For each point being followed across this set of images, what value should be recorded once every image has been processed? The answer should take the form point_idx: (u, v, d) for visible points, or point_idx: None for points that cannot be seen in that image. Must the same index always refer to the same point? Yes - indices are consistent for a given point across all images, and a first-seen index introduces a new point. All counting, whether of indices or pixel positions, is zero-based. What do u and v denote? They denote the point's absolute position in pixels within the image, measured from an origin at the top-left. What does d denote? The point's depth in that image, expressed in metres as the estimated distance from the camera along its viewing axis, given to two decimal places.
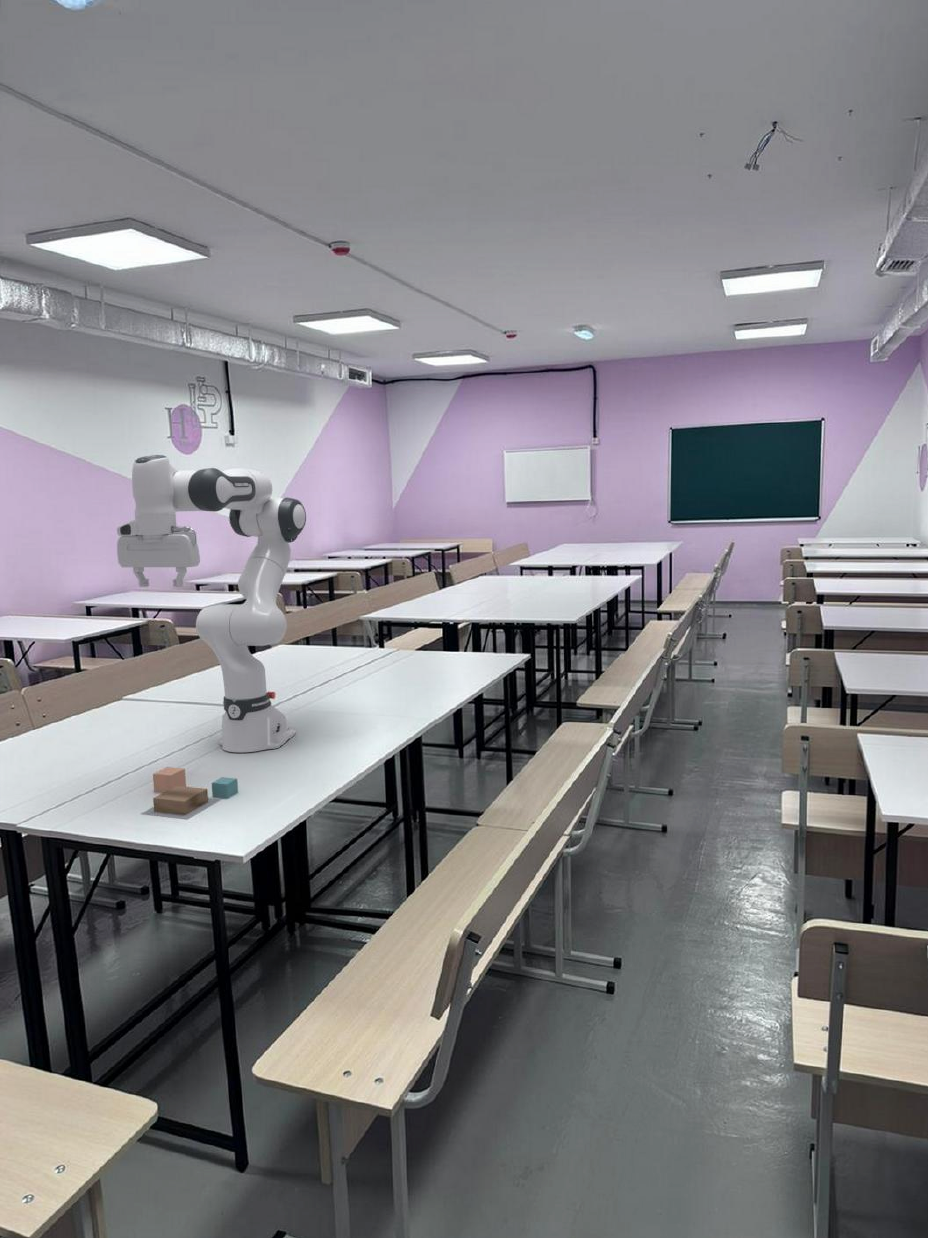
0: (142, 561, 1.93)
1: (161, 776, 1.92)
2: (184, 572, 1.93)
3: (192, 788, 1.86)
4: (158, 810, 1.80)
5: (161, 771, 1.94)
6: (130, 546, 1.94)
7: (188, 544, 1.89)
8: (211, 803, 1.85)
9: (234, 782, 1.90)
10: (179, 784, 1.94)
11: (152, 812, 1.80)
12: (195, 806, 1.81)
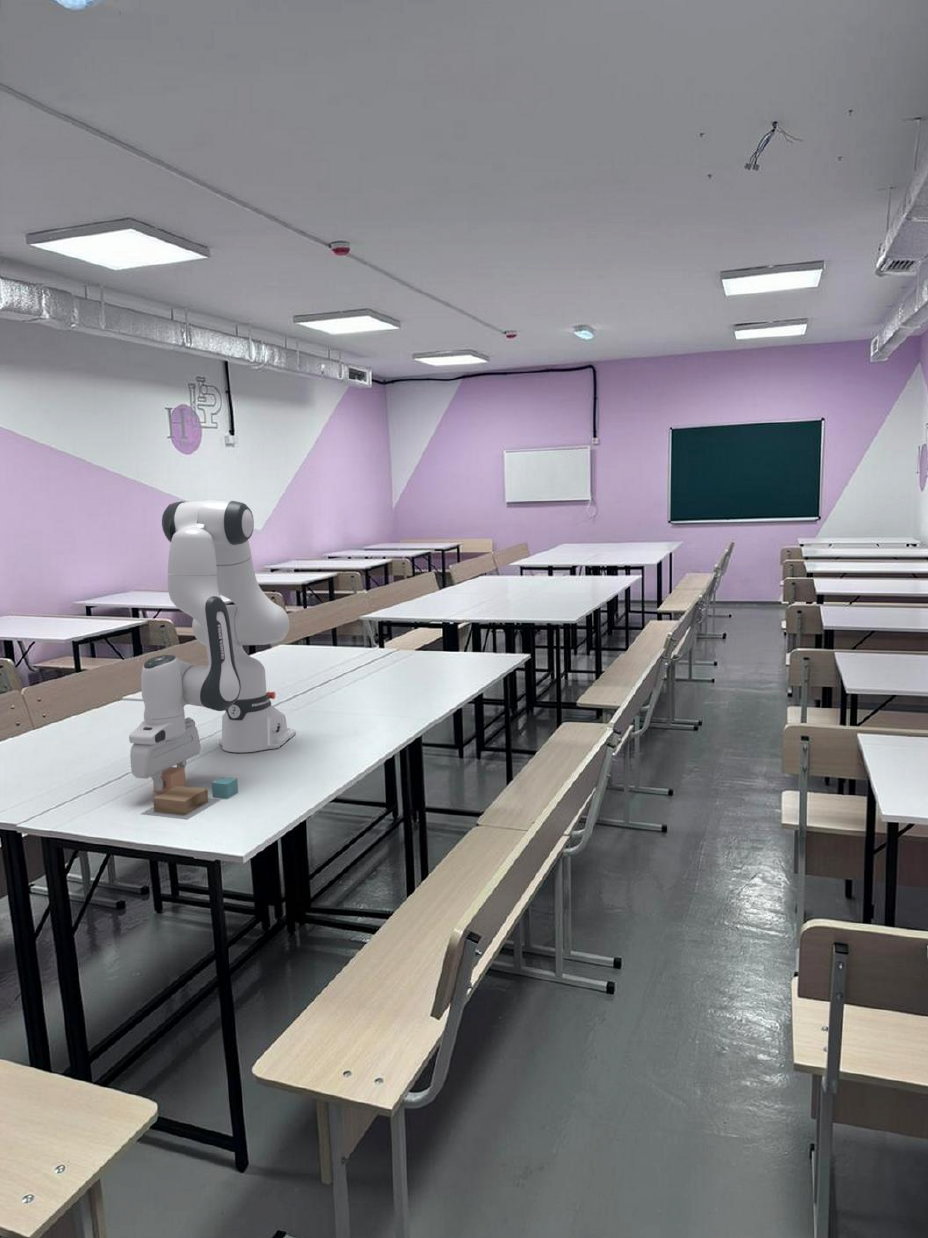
0: (165, 764, 1.90)
1: (161, 776, 1.92)
2: None
3: (192, 788, 1.86)
4: (158, 810, 1.80)
5: None
6: (154, 753, 1.87)
7: (197, 733, 2.02)
8: (211, 803, 1.85)
9: (234, 782, 1.90)
10: (179, 783, 1.94)
11: (152, 812, 1.80)
12: (195, 806, 1.81)
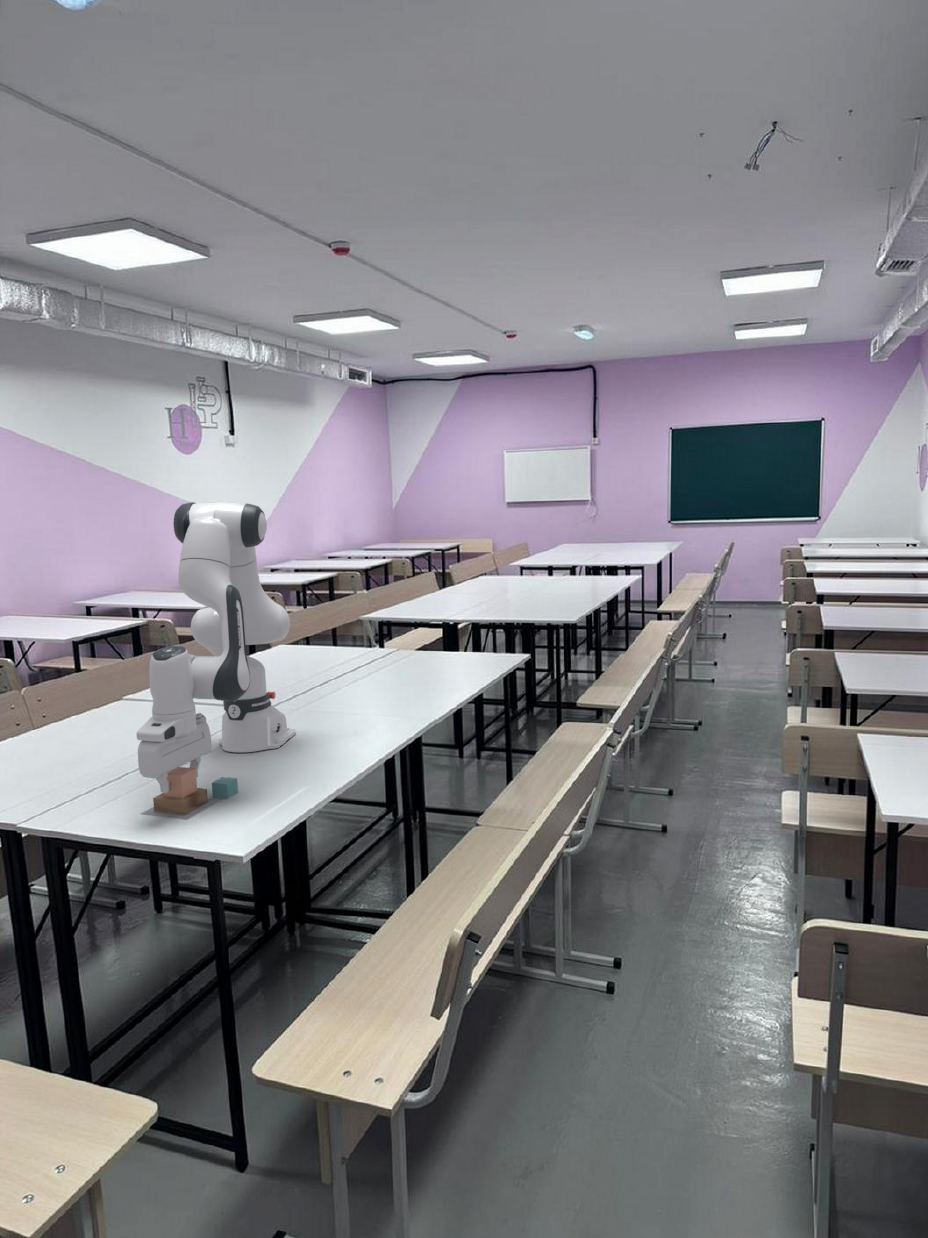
0: (175, 762, 1.78)
1: (170, 777, 1.80)
2: None
3: None
4: (158, 810, 1.80)
5: (170, 771, 1.82)
6: (163, 751, 1.75)
7: None
8: (211, 803, 1.85)
9: (234, 782, 1.90)
10: (190, 784, 1.82)
11: (152, 812, 1.80)
12: (195, 806, 1.81)
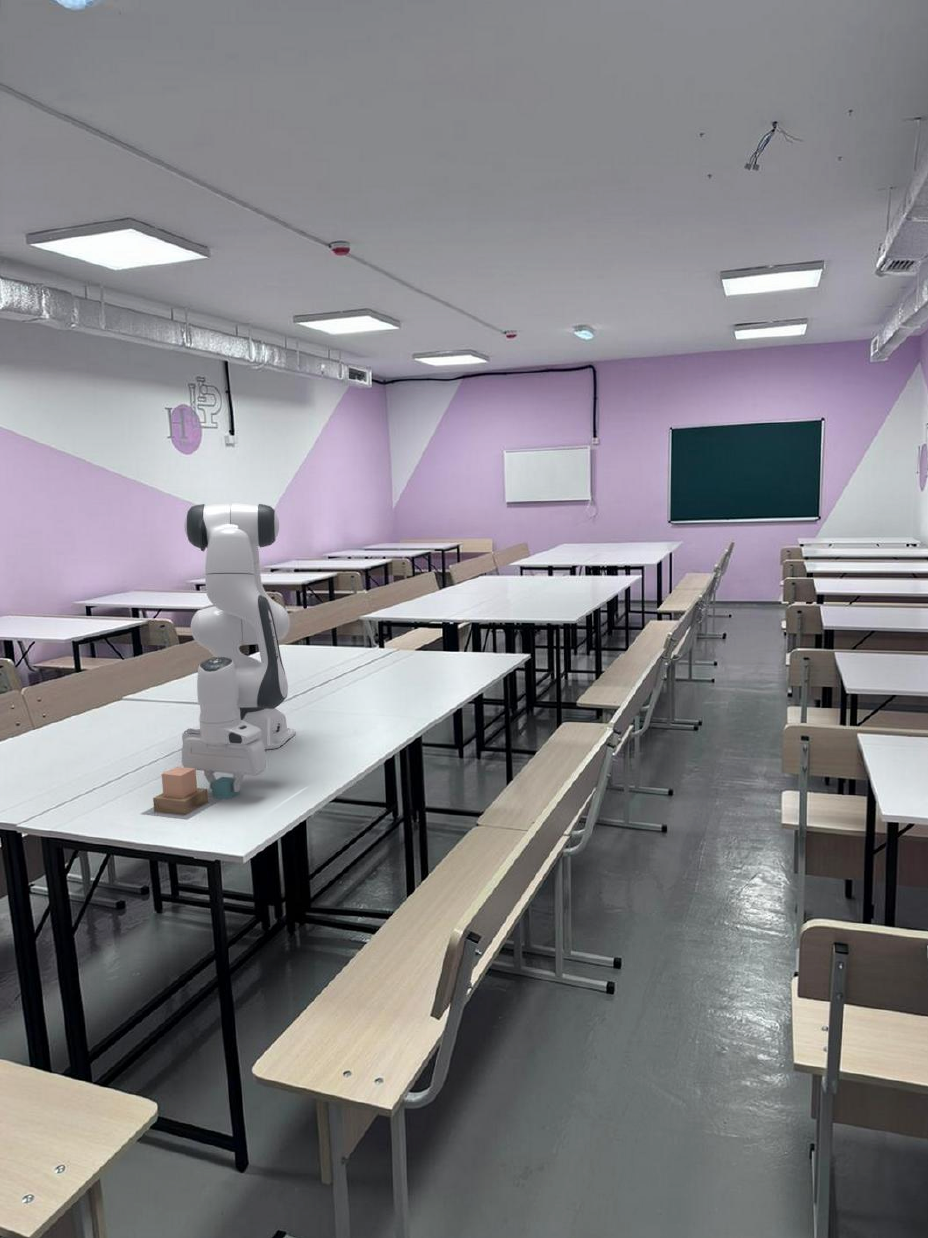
0: None
1: (170, 777, 1.80)
2: None
3: None
4: (158, 810, 1.80)
5: (170, 771, 1.82)
6: None
7: None
8: (211, 803, 1.85)
9: None
10: (190, 784, 1.82)
11: (152, 812, 1.80)
12: (195, 806, 1.81)
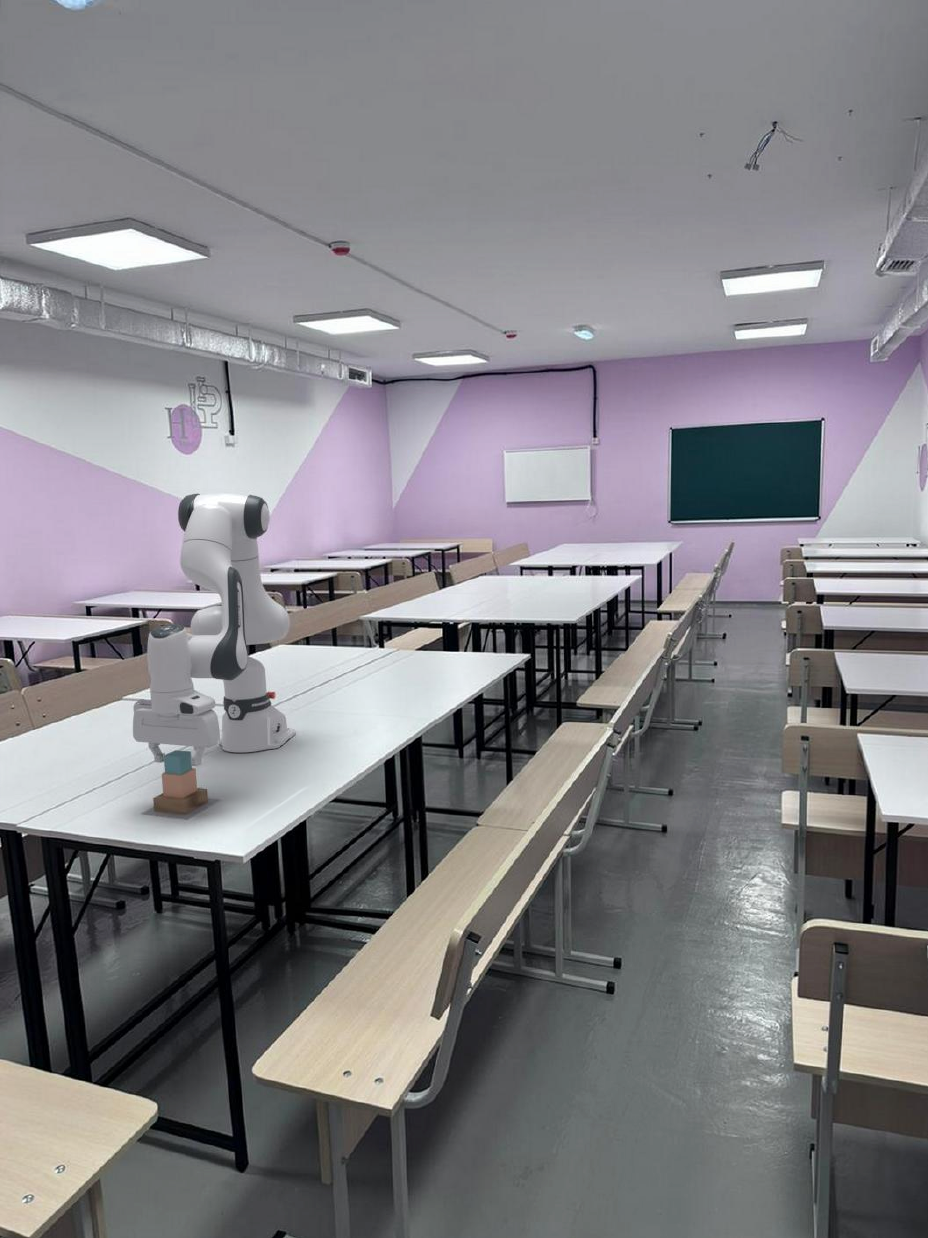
0: None
1: (170, 777, 1.80)
2: None
3: None
4: (158, 810, 1.80)
5: None
6: None
7: None
8: (211, 803, 1.85)
9: (187, 755, 1.82)
10: (190, 784, 1.82)
11: (152, 812, 1.80)
12: (195, 806, 1.81)
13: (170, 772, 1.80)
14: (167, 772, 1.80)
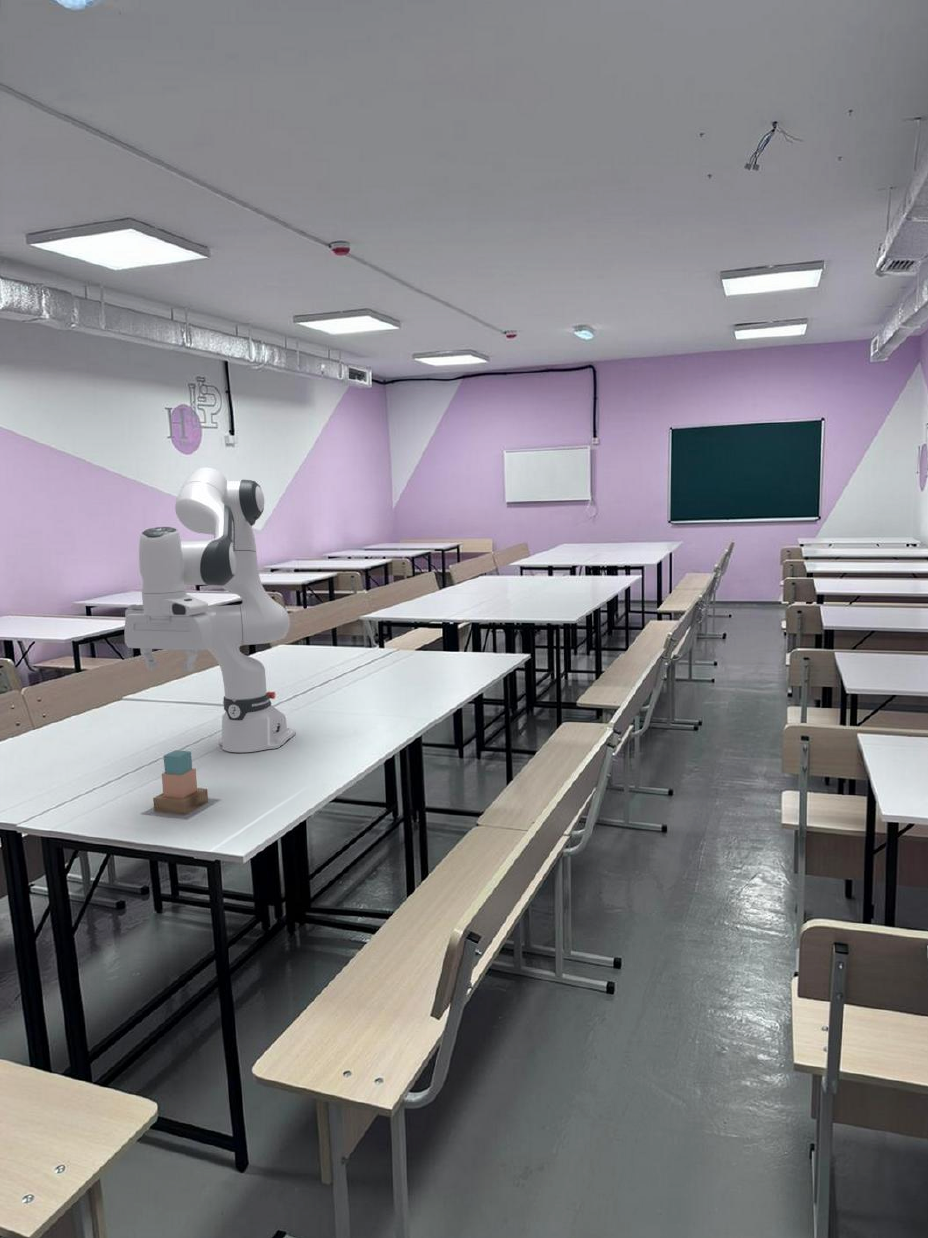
0: None
1: (170, 777, 1.80)
2: None
3: None
4: (158, 810, 1.80)
5: None
6: None
7: None
8: (211, 803, 1.85)
9: (187, 755, 1.82)
10: (190, 784, 1.82)
11: (152, 812, 1.80)
12: (195, 806, 1.81)
13: (170, 772, 1.80)
14: (167, 772, 1.80)
